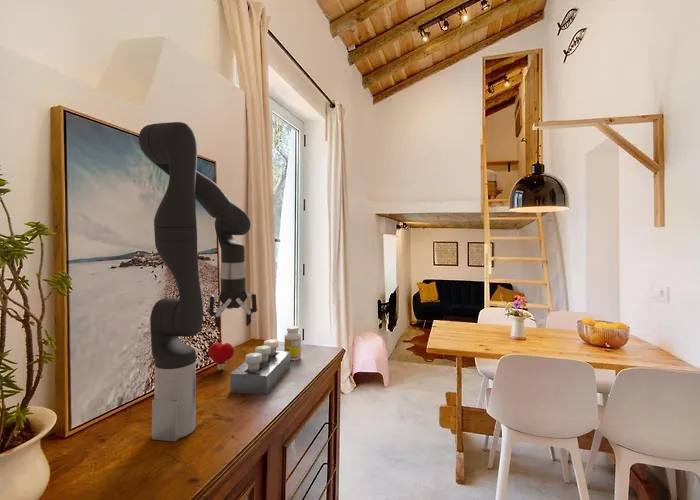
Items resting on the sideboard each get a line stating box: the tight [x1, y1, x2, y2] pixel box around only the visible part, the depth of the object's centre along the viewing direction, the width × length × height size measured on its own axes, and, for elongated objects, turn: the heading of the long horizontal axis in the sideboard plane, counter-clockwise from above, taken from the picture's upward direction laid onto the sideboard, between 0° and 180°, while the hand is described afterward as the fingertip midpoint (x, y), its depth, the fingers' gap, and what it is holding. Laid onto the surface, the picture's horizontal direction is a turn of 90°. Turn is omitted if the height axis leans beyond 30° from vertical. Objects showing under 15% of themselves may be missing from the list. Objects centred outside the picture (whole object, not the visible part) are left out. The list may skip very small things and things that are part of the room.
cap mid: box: [254, 345, 271, 364], centre depth 120 cm, size 5×5×5 cm
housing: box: [229, 350, 291, 396], centre depth 120 cm, size 24×12×6 cm, turn 173°
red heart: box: [208, 342, 235, 371], centre depth 128 cm, size 9×7×10 cm
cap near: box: [244, 352, 262, 373], centre depth 112 cm, size 5×5×5 cm
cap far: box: [263, 338, 279, 356], centre depth 128 cm, size 5×5×5 cm
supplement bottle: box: [284, 325, 302, 361], centre depth 142 cm, size 7×7×13 cm
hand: (233, 326), depth 110 cm, fingers open, 8 cm apart
